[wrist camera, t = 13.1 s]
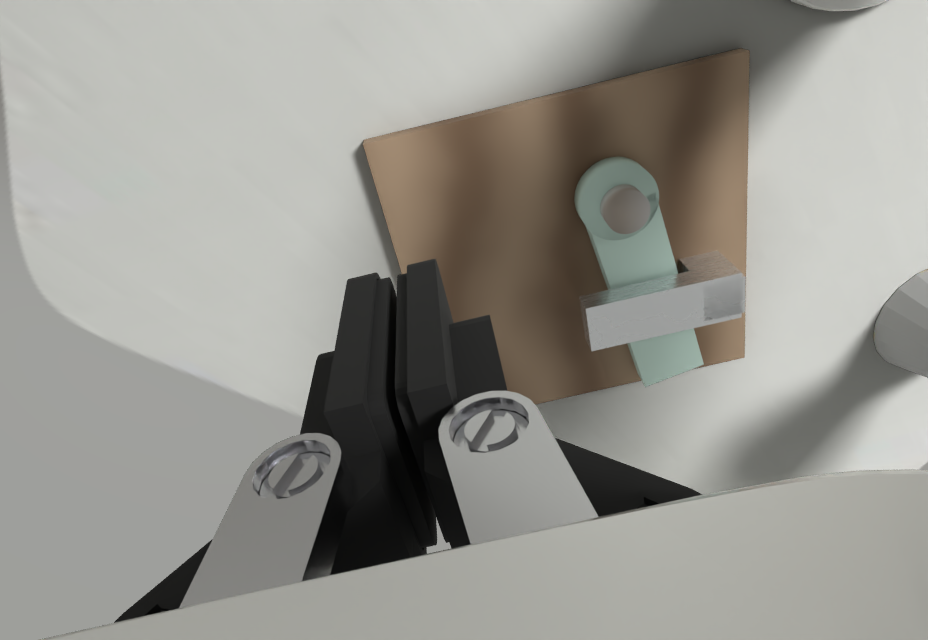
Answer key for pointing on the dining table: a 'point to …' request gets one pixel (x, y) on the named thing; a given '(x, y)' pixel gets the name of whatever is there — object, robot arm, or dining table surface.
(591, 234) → the link
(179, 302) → the dining table surface
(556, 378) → the board
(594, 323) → the keeper
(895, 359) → the lava lamp
